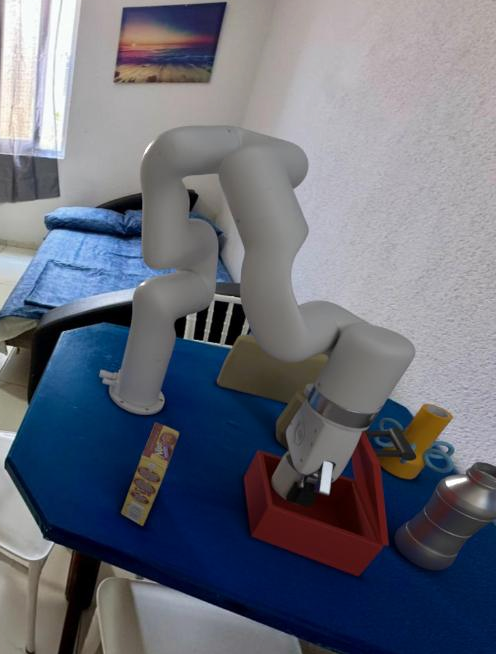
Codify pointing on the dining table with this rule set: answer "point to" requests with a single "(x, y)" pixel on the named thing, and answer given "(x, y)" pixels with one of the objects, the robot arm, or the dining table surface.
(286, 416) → the squeeze bottle
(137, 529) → the dining table surface
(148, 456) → the candy box
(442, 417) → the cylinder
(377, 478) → the red box lid
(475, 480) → the silver metal bottle
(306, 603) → the dining table surface
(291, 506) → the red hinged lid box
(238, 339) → the cheese
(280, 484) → the container
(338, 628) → the dining table surface
